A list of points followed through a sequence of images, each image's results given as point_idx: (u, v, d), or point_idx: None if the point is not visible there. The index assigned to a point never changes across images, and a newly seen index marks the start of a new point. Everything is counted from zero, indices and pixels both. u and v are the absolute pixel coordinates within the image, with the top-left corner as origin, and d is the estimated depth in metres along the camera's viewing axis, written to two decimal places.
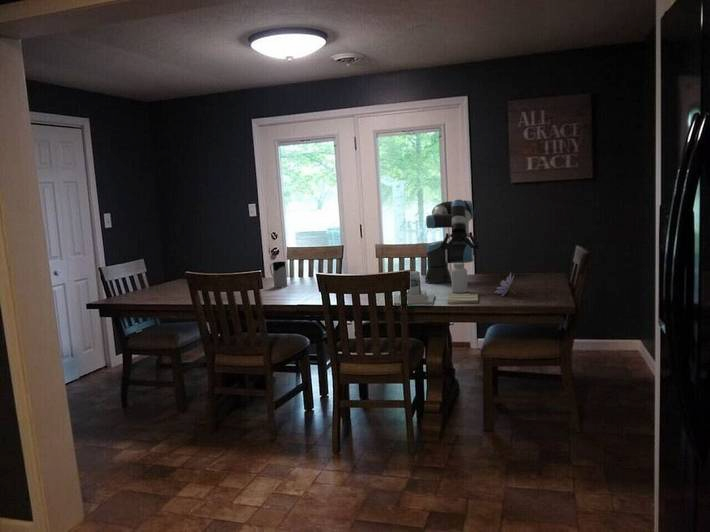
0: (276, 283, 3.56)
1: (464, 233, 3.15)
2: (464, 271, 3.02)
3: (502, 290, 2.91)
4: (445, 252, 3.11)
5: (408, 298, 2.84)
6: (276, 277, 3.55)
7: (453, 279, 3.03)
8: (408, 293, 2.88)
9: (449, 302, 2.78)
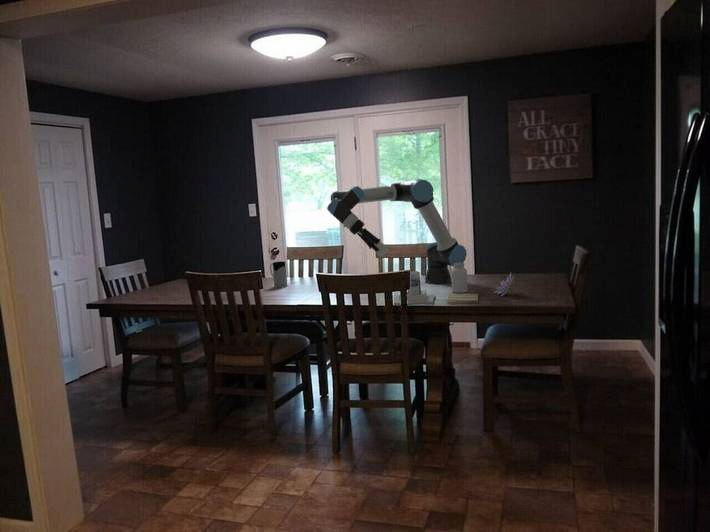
0: (276, 283, 3.56)
1: None
2: (464, 271, 3.02)
3: (502, 290, 2.91)
4: None
5: (408, 298, 2.84)
6: (276, 277, 3.55)
7: (453, 279, 3.03)
8: (408, 293, 2.88)
9: (449, 302, 2.78)
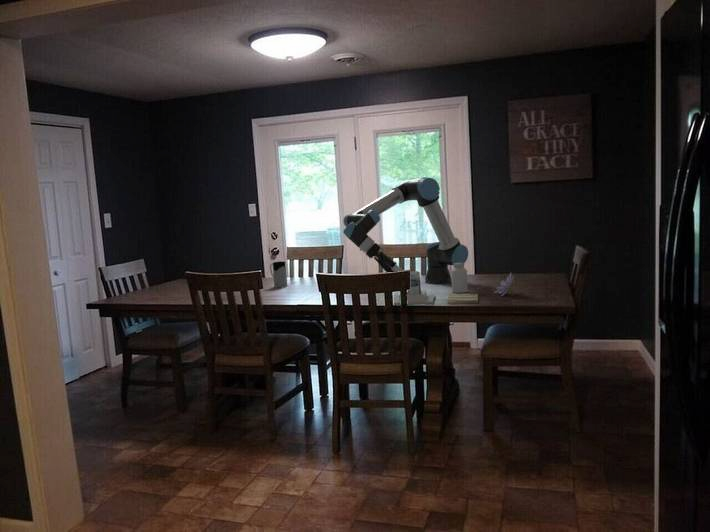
0: (276, 283, 3.56)
1: None
2: (464, 271, 3.02)
3: (502, 290, 2.91)
4: (395, 270, 2.96)
5: (408, 298, 2.84)
6: (276, 277, 3.55)
7: (453, 279, 3.03)
8: (408, 293, 2.88)
9: (449, 302, 2.78)
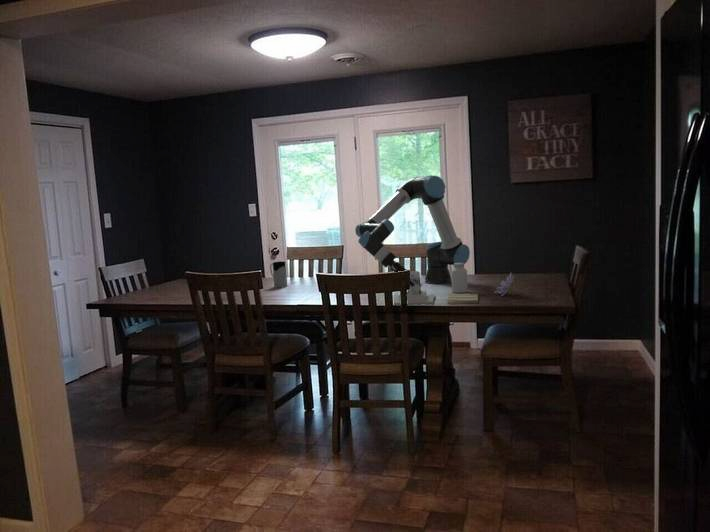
0: (276, 283, 3.56)
1: (391, 267, 2.87)
2: (464, 271, 3.02)
3: (502, 290, 2.91)
4: None
5: (408, 298, 2.84)
6: (276, 277, 3.55)
7: (453, 279, 3.03)
8: (408, 293, 2.88)
9: (449, 302, 2.78)
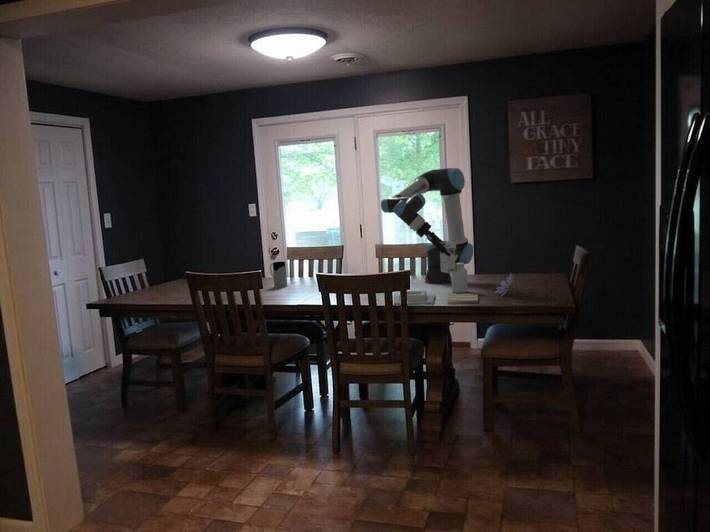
0: (276, 283, 3.56)
1: (426, 236, 2.80)
2: (464, 271, 3.02)
3: (502, 290, 2.91)
4: None
5: (408, 298, 2.84)
6: (276, 277, 3.55)
7: (453, 279, 3.03)
8: (443, 263, 2.81)
9: (449, 302, 2.78)
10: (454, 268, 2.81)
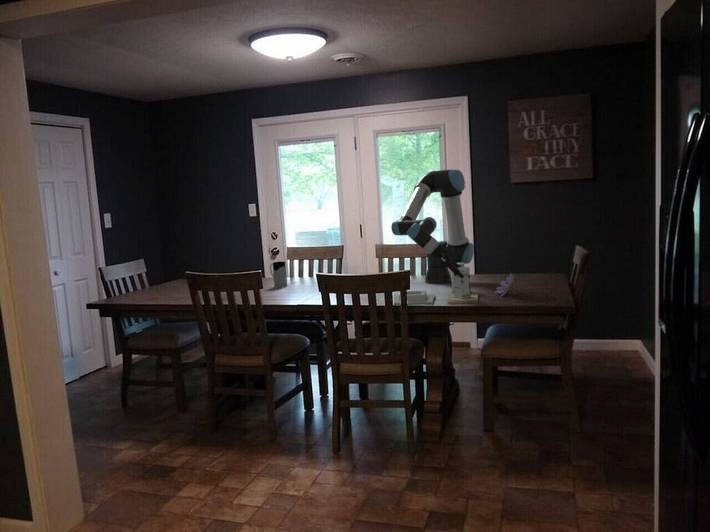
0: (276, 283, 3.56)
1: (440, 259, 2.82)
2: None
3: (502, 290, 2.90)
4: None
5: (408, 298, 2.84)
6: (276, 277, 3.55)
7: (453, 279, 3.03)
8: (458, 289, 2.83)
9: (449, 302, 2.78)
10: (468, 293, 2.83)
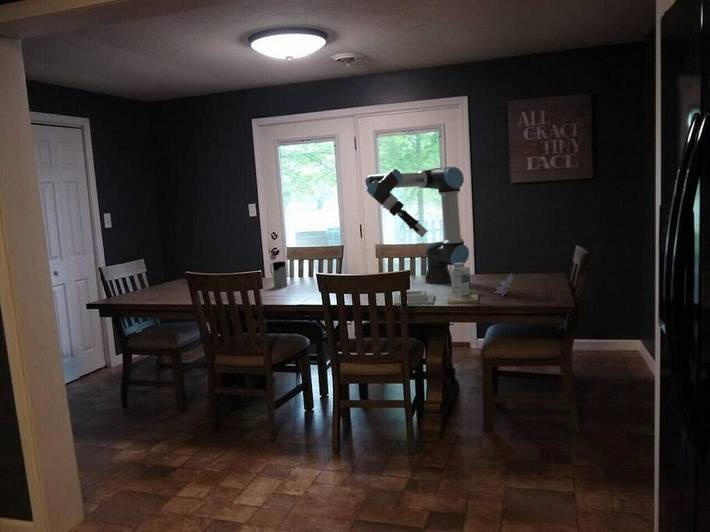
0: (276, 283, 3.56)
1: None
2: None
3: (502, 290, 2.90)
4: None
5: (408, 298, 2.84)
6: (276, 277, 3.55)
7: (453, 279, 3.03)
8: (458, 289, 2.83)
9: (449, 302, 2.78)
10: (468, 293, 2.83)
